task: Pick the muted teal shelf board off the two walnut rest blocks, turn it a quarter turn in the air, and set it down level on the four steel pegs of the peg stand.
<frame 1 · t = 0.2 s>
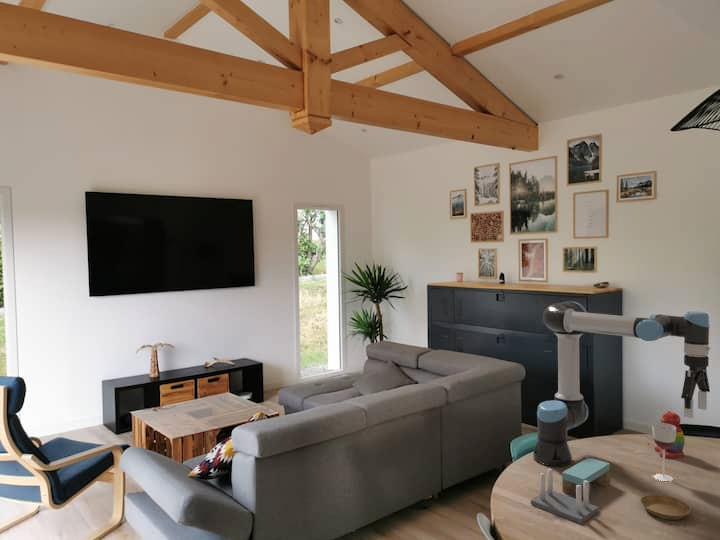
hand: (695, 413, 197), 28 cm above the table, tool pointing down, fingers open, 13 cm apart
plant saucer: (664, 512, 181), on the table
shelf board: (586, 474, 199), point 5 cm above the table, touching rest blocks
rest blocks: (586, 487, 200), on the table
stacking bear: (670, 454, 230), on the table
wineglass: (663, 478, 207), on the table
peg stand: (564, 507, 185), on the table
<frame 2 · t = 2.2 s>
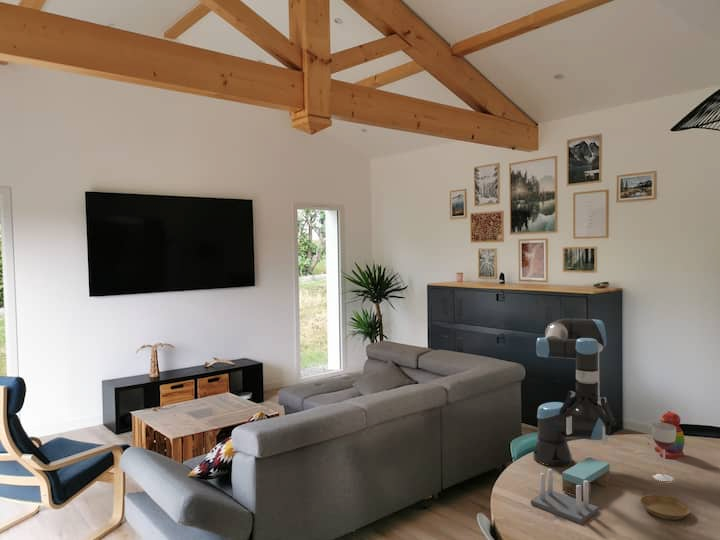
hand: (586, 438, 199), 18 cm above the table, tool pointing down, fingers open, 13 cm apart
nothing on the table moved.
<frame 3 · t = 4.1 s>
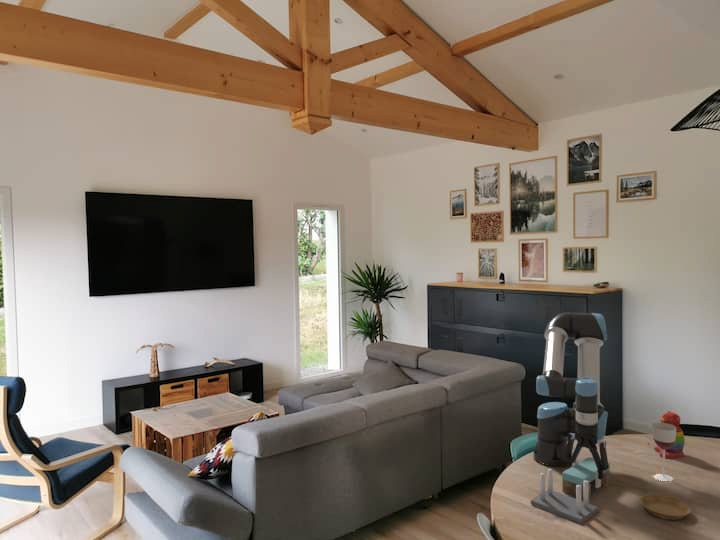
hand: (586, 483, 200), 2 cm above the table, tool pointing down, fingers closed on shelf board, 8 cm apart
shelf board: (586, 474, 199), point 5 cm above the table, touching gripper, rest blocks
everything else where it was.
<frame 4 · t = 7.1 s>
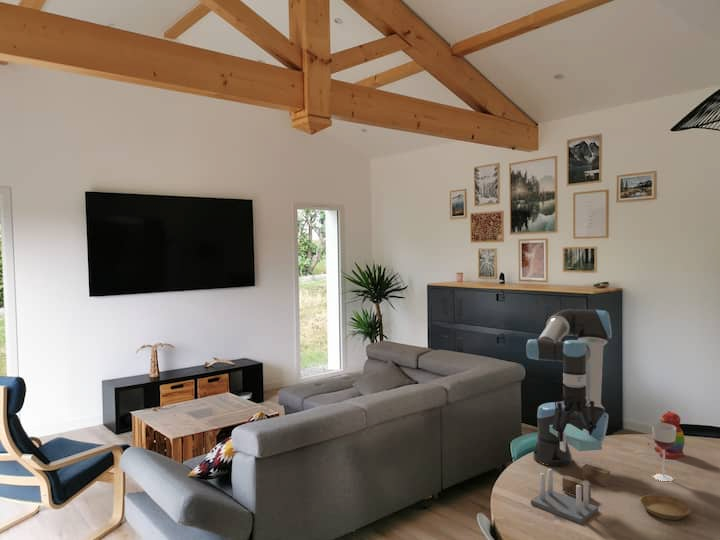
hand: (574, 449, 190), 18 cm above the table, tool pointing down, fingers closed on shelf board, 8 cm apart
shelf board: (574, 440, 190), point 21 cm above the table, touching gripper
everything else where it was.
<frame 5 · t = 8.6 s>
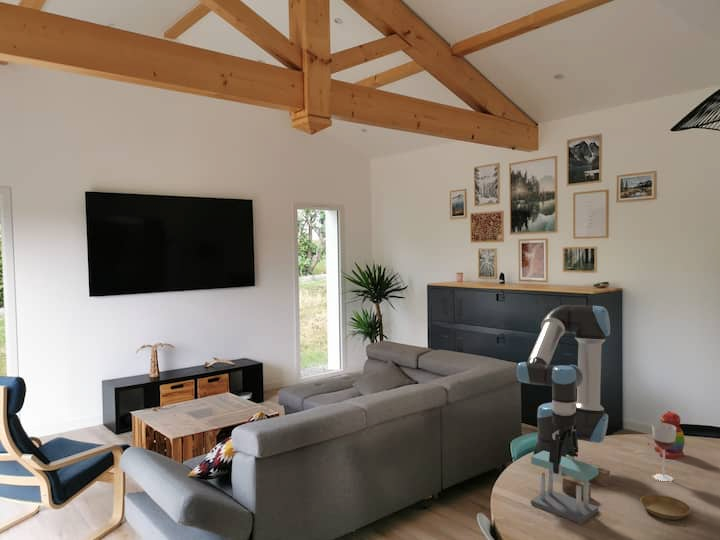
hand: (563, 478, 184), 10 cm above the table, tool pointing down, fingers closed on shelf board, 8 cm apart
shelf board: (564, 468, 184), point 14 cm above the table, touching gripper
everything else where it was.
when the fingers open (8 cm above the table, at t = 9.9 s): shelf board stays where it is, resting on peg stand.
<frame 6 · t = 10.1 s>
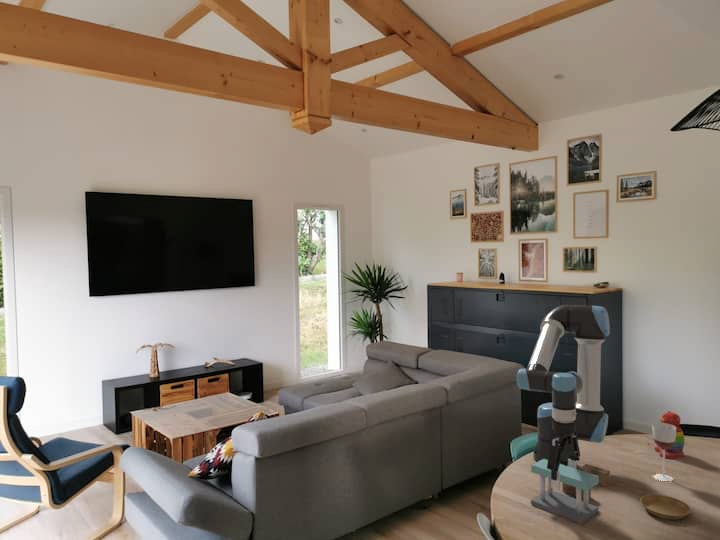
hand: (564, 483, 185), 8 cm above the table, tool pointing down, fingers open, 10 cm apart
shelf board: (564, 477, 185), point 10 cm above the table, touching peg stand
everything else where it was.
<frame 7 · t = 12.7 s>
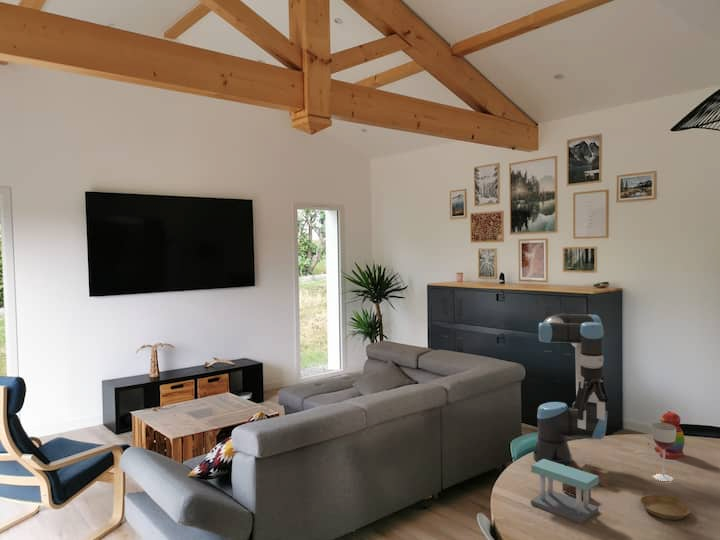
hand: (591, 423, 196), 25 cm above the table, tool pointing down, fingers open, 13 cm apart
nothing on the table moved.
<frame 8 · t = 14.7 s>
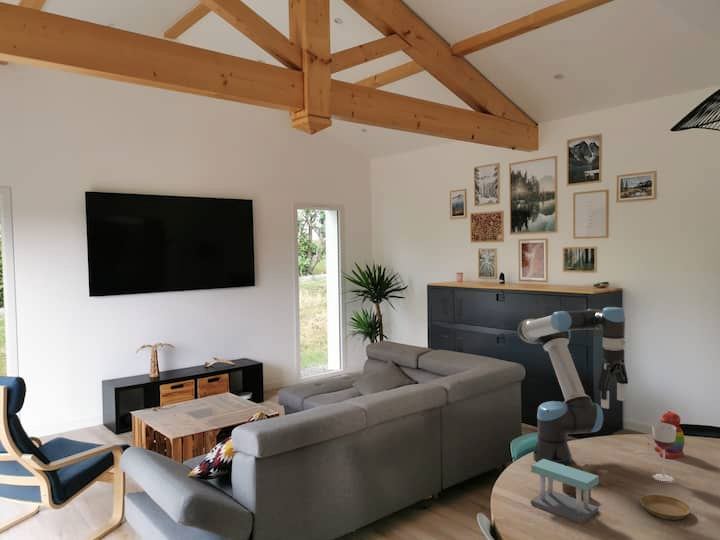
hand: (613, 404, 206), 29 cm above the table, tool pointing down, fingers open, 13 cm apart
nothing on the table moved.
at the end: shelf board 0.0 cm off-centre on the peg stand, point 10.5 cm above the peg stand's base; shelf board tilted 0°; the gripper is holding nothing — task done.
